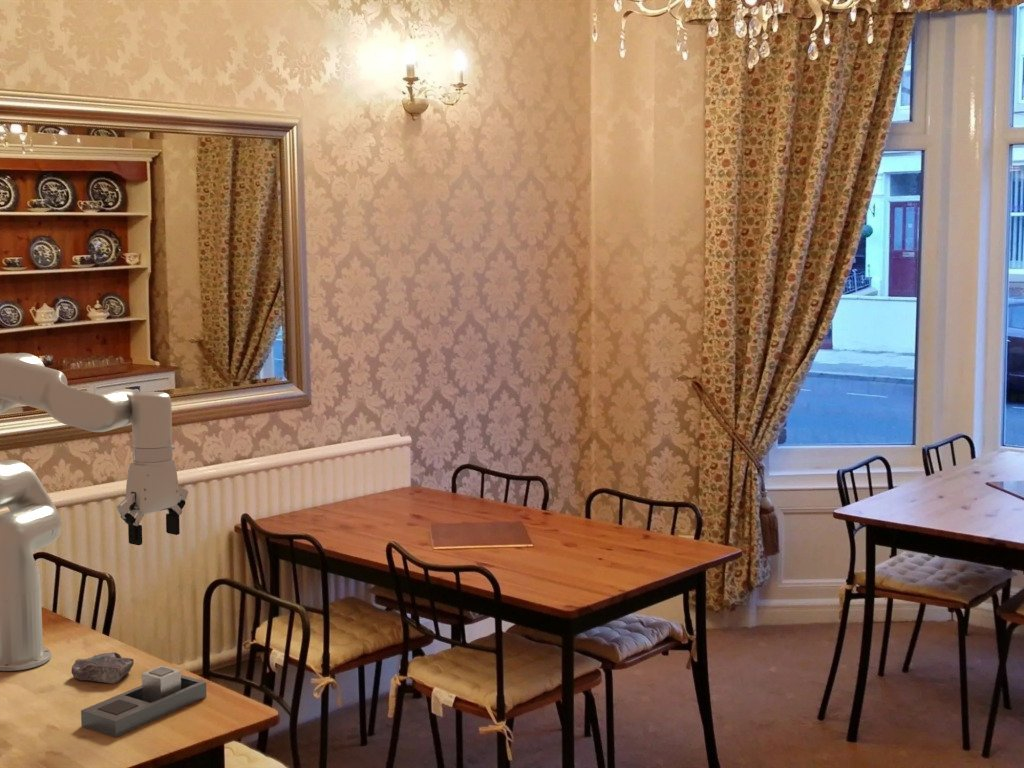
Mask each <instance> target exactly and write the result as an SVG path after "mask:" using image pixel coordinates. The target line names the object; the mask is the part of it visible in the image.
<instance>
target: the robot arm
mask: <svg viewBox="0 0 1024 768" xmlns="http://www.w3.org/2000/svg"><path fill="white" fill-rule="evenodd" d="M17 404H20V405H24V406H28V407H31V408H35V409H37V410H41V411H43V412H46V414H48V415H49V416H50V417H52V418H53V419H54V420H55V421H57V422H59V423H61V424H63V425H67V426H68V427H69V426H70V427H73V428H77V429H81V430H84V431H88V432H93V433H105V432H109V431H111V430H115V429H119V428H123V427H128V426H131V434H132V435H131V438H132V462H130V463H129V465H128V470H127V476H126V484H125V486H126V489H125V498H124V499H123V500H121V502H119V503H118V504H117V506H116V509H117V511H118V513H119V515H120V518H121V519H122V520H123V521H124V523H125V524H126V525H127V527H128V528H127V530H128V543H129V544H131V545H135V546H141V545H143V525H141V521H142V520H143V518H144V517H145V515H148V514H153V513H159V512H162V511H165V510H166V511H167V512H168V513H165V514H166V515H165V532H166V533H167V534H170V535H175V536H178V535H180V529H181V528H180V515H182V513H183V509H184V507H185V505H186V500H187V498H188V494H189V490H187V489H184V488H183V487H181V486H179V479H178V472H177V471H178V470H177V467H176V462H175V459H174V458H173V452H175V450H176V449H175V446H174V445H173V419H172V418H173V417H172V416H173V413H172V410H173V409H172V397H171V396H170V394H168V393H166V392H163V391H140V390H136V389H131V388H118V389H111V390H107V391H104V392H103V391H102V392H98V393H93V392H88V391H84V390H81V389H77V388H75V387H71V386H69V385H68V379H67V377H66V375H65V373H64V372H62V371H60V370H57V369H55V368H50V367H47V366H46V365H45V364H44V362H43V361H42V360H41V359H40V358H39V357H38V356H36V355H34V354H32V353H27V352H18V353H12V354H4V355H3V354H2V355H0V415H1V414H2V413H5V412H6V411H8V410H9V409H11V408H13V407H14V406H16V405H17ZM4 508H8V510H9V511H8V512H7V511H6V512H5V513H2V514H0V671H1V672H14V671H16V672H17V671H24V670H28V669H33V668H36V667H39V666H42V665H44V664H46V663H48V662H49V661H50V660H51V658H52V651H51V650H50V648H48V647H45V646H43V645H44V640H43V613H42V609H43V608H42V587H41V585H42V584H41V575H40V570H39V567H38V565H37V563H36V560H35V558H34V553H35V552H36V551H38V550H41V549H43V548H45V547H48V546H50V545H52V544H53V543H54V542H56V541H57V539H59V537H60V536H61V533H62V529H63V523H62V522H63V521H62V518H61V516H60V513H59V510H58V509H57V507H56V505H55V504H54V502H53V500H52V498H51V497H50V495H49V494H48V492H47V490H46V489H45V486H44V484H42V482H41V480H40V479H39V477H38V476H37V473H35V471H34V470H33V469H32V467H30V466H29V465H28V464H27V463H25V462H23V461H21V460H17V459H4V460H1V461H0V510H1V509H4Z"/></svg>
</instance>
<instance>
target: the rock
mask: <svg viewBox="0 0 1024 768" xmlns="http://www.w3.org/2000/svg"><path fill="white" fill-rule="evenodd" d="M134 662H135V661H134V659H133V658H131V657H122V656H121V655H120V654H119V653H118V652H116V651H112V652H105V653H99V654H97V655H93V656H91V657H88V658H83V659H82V658H80V659H79V658H78V659H76V660H75V661H74V663H73V665H72V667H71V674H72V676H73V677H74V678H75V679H77V680H78V681H91V682H98V683H105V684H112V685H113V684H117V683H119V682H120V681H121V679H123V678H124V677H125V676H126V675H127V674H128V673H130V672H131V670H132V667H133V666H134V664H135V663H134Z"/></svg>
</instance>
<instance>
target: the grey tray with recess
mask: <svg viewBox="0 0 1024 768" xmlns="http://www.w3.org/2000/svg"><path fill="white" fill-rule="evenodd" d="M204 698H207V681H205V680H201V679H197V678H194V677H190V676H186V675H183V674H181V690H180V691H178V692H175V693H173V694H171V695H168V696H166V697H164V698H161V699H159V700H157V701H155V702H152V703H148V702H145V701H143V697H142V684H141V685H139V686H137V687H135V688H132V689H129V690H127V691H125V692H122V693H120V694H118V695H115V696H112V697H110V698H107V699H105V700H103V701H100V702H98V703H95V704H93V705H90V706H89V707H85V708H83V709H81V710H80V716H81V717H80V719H81V721H80V722H81V727H83V728H86V729H90V730H92V731H95V732H98V733H102V734H104V735H107V736H111V737H113V738H118V737H120V736H122V735H125V734H127V733H129V732H131V731H133V730H135V729H138V728H140V727H143V726H145V725H146V724H149V723H151V722H153V721H156V720H158V719H160V718H163V717H164V716H167V715H169V714H171V713H174V712H176V711H179V710H180V709H182V708H184V707H187V706H189V705H192V704H193V703H196V702H199V701H201V700H202V699H204Z"/></svg>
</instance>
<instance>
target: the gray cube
mask: <svg viewBox="0 0 1024 768" xmlns="http://www.w3.org/2000/svg"><path fill="white" fill-rule="evenodd" d="M181 672H182V670H181V669H177V668H173V667H169V666H166V665H159V666H157V667H154V668H152V669H149V670H147V671H145V672H142V673H141V685H142V697H143V701H145V702H148V703H152V702H155V701H157V700H159V699H161V698H164V697H166V696H168V695H171V694H173V693H175V692H178V691H180V690H181V675H182V673H181Z"/></svg>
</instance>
